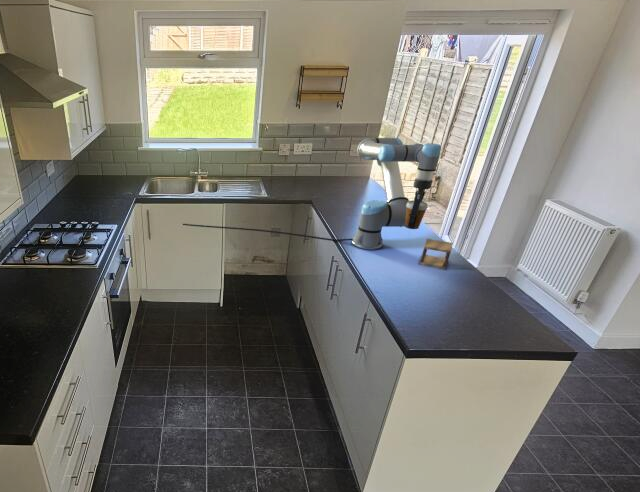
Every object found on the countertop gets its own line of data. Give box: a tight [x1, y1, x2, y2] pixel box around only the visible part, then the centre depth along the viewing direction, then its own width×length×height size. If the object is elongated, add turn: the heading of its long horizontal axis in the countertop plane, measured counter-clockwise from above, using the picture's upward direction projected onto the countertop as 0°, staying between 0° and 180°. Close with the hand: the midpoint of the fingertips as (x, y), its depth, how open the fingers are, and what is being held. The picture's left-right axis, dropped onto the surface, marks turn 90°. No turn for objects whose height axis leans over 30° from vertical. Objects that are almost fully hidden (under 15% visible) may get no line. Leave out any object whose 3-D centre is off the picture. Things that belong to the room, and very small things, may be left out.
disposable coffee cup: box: [404, 200, 429, 230], centre depth 210 cm, size 10×10×12 cm
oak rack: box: [419, 238, 454, 270], centre depth 213 cm, size 12×12×10 cm
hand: (411, 225), depth 213 cm, fingers closed on disposable coffee cup, 8 cm apart
